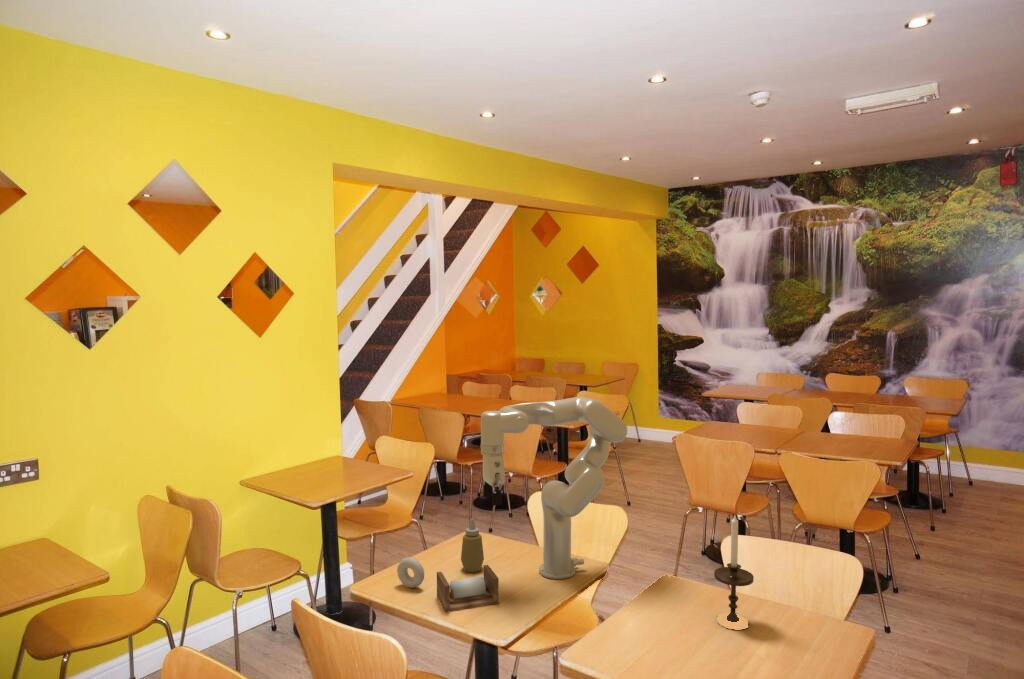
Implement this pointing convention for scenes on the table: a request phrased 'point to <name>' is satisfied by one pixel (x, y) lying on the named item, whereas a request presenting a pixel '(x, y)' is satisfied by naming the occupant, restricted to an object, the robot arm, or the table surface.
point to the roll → (467, 587)
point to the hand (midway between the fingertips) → (492, 500)
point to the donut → (417, 570)
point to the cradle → (468, 602)
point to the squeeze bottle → (472, 549)
